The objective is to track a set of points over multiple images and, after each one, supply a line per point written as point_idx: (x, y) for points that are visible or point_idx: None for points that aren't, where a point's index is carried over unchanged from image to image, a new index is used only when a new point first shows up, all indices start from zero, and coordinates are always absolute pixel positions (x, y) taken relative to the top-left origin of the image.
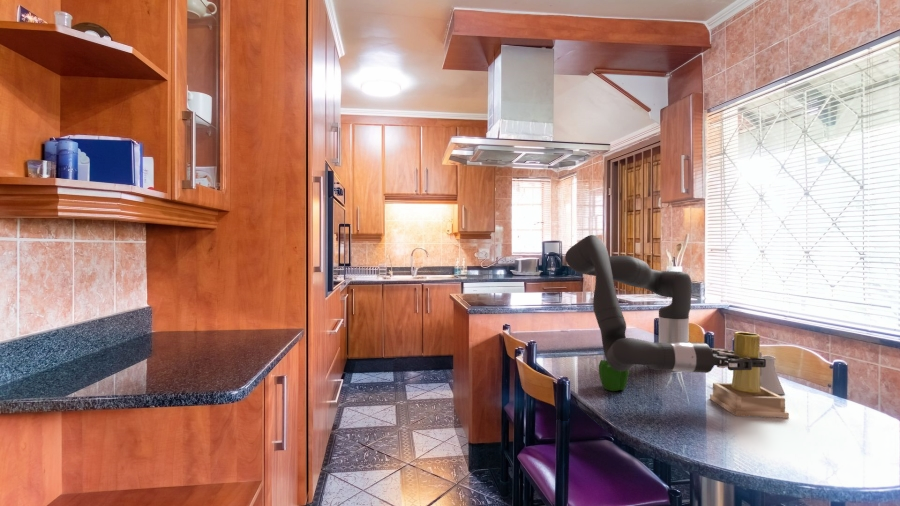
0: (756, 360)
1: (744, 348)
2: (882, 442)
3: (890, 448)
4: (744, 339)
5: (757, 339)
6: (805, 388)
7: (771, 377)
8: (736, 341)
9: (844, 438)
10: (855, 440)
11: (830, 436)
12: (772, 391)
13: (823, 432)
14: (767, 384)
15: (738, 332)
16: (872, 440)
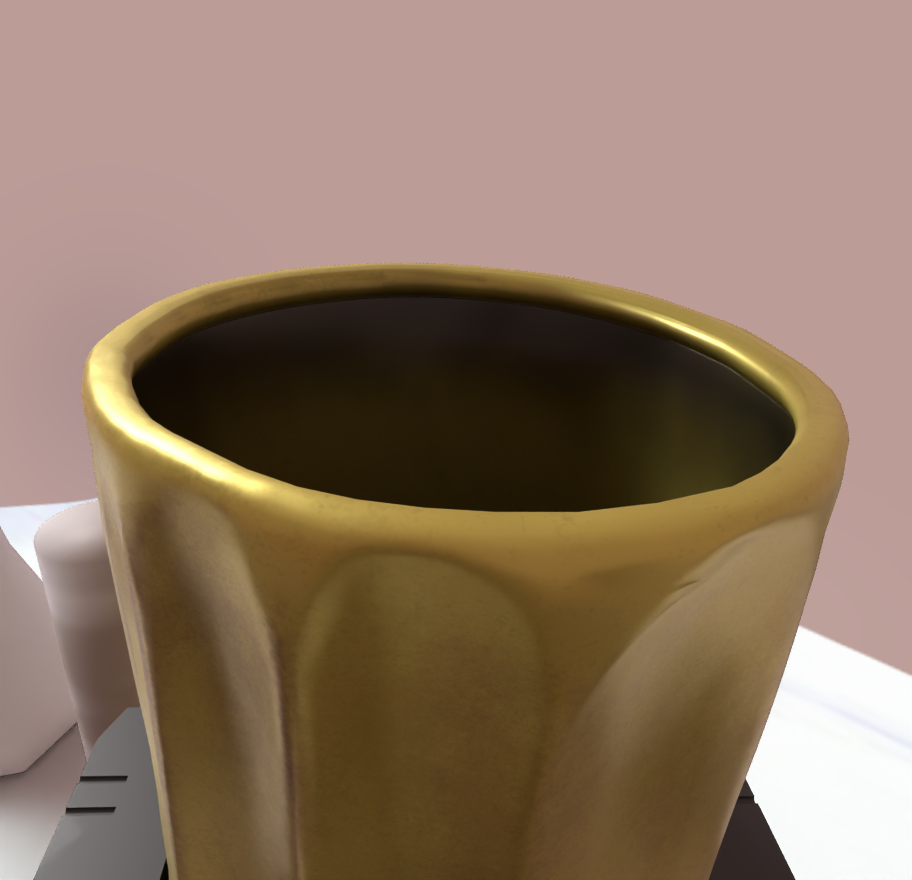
0: (757, 831)
1: (715, 843)
2: (812, 653)
3: (885, 668)
4: (800, 613)
5: (674, 402)
6: (40, 508)
7: (18, 612)
8: (538, 858)
9: (871, 786)
10: (867, 749)
11: (890, 849)
12: (68, 703)
13: (828, 848)
14: (18, 684)
15: (126, 385)
16: (809, 675)
